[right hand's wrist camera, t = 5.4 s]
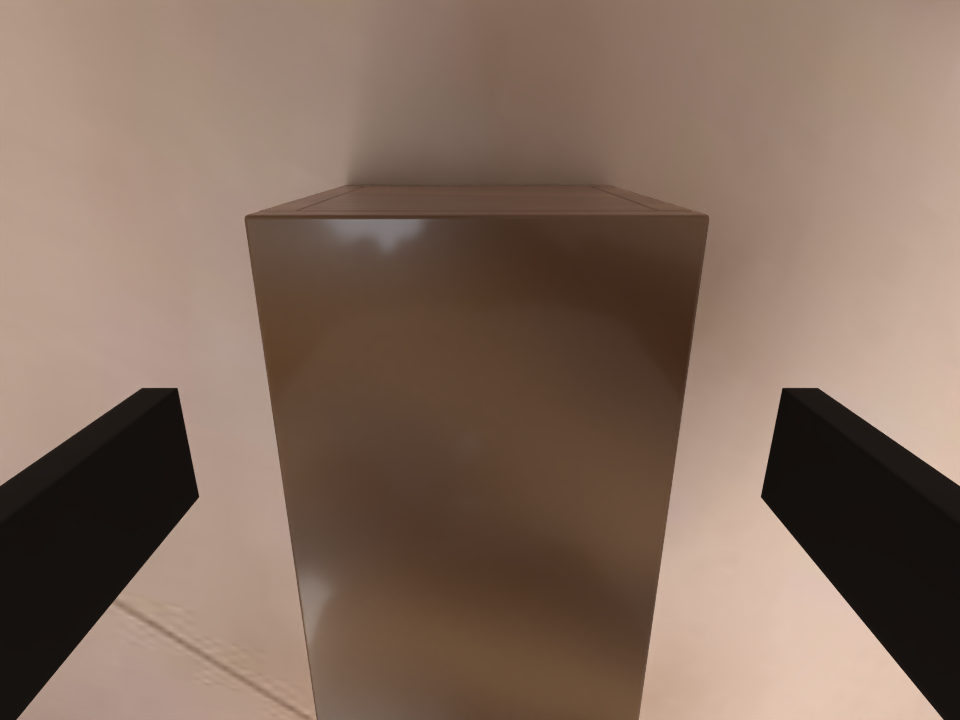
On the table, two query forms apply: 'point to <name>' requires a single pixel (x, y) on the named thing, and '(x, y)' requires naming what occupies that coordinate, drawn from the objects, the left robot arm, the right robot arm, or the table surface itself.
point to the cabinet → (477, 439)
